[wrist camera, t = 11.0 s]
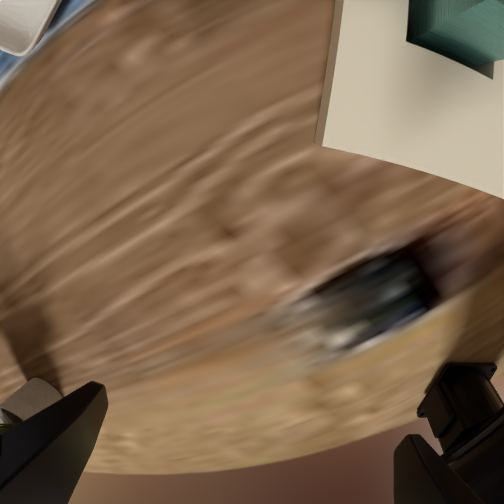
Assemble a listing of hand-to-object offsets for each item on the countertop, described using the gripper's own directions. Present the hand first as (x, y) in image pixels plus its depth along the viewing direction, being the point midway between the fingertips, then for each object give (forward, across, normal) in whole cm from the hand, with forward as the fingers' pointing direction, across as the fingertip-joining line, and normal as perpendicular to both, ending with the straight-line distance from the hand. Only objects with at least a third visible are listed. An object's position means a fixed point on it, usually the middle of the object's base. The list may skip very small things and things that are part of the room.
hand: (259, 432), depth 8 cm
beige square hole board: (+13, -7, -16) cm, 22 cm away
